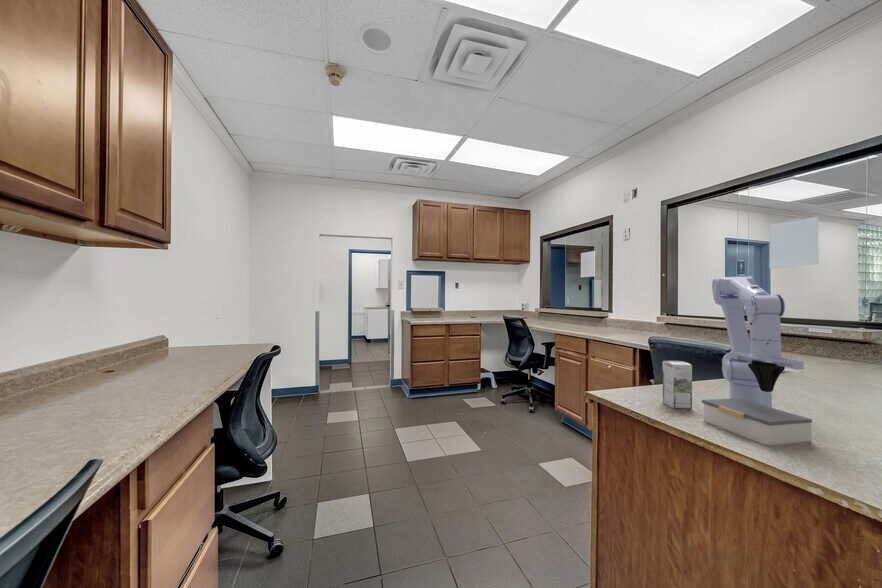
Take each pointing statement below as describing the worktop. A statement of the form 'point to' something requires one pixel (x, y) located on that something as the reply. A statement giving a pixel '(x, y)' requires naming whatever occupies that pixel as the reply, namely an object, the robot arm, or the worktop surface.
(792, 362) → the robot arm
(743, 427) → the storage box
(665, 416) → the worktop surface
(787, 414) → the lid
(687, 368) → the syrup box
